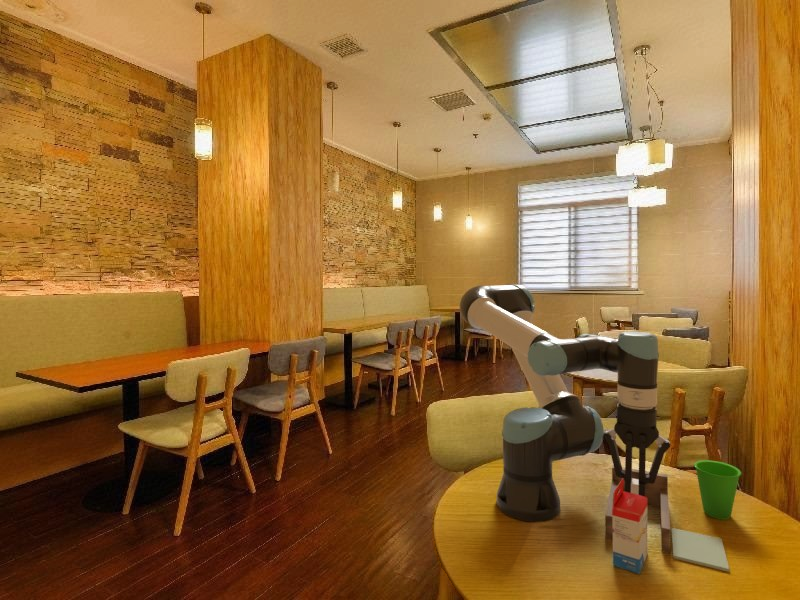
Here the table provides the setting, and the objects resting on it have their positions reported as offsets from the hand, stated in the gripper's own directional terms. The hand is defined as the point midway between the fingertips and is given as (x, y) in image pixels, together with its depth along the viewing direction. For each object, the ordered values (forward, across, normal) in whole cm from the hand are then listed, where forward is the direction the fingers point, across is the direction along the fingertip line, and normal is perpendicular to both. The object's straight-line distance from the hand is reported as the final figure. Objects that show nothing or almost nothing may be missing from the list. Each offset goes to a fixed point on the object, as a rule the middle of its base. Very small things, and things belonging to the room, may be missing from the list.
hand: (634, 510), depth 97 cm
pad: (+5, +12, 0) cm, 13 cm away
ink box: (+5, 0, -10) cm, 11 cm away
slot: (+5, +1, +6) cm, 8 cm away
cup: (+6, +17, +18) cm, 25 cm away
